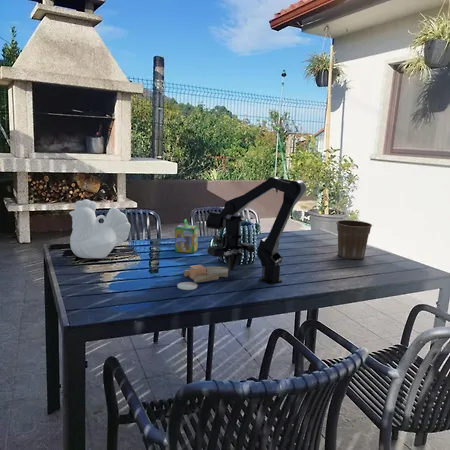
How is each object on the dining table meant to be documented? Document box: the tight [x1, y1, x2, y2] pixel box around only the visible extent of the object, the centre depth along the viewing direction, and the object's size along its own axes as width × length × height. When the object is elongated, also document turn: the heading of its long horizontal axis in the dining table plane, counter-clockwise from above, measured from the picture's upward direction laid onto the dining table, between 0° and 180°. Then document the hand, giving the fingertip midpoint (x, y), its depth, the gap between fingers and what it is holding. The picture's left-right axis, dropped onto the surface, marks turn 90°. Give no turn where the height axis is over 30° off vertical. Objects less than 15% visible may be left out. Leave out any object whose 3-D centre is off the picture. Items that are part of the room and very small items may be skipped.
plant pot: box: [336, 219, 373, 260], centre depth 201 cm, size 16×16×16 cm
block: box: [189, 264, 207, 281], centre depth 159 cm, size 4×4×4 cm
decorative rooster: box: [69, 198, 132, 259], centre depth 179 cm, size 25×16×25 cm, turn 109°
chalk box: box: [174, 218, 199, 254], centre depth 198 cm, size 9×9×15 cm
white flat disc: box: [176, 281, 198, 291], centre depth 149 cm, size 7×7×1 cm
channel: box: [183, 266, 220, 284], centre depth 160 cm, size 9×10×2 cm
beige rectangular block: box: [206, 266, 229, 278], centre depth 164 cm, size 3×8×3 cm, turn 95°
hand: (230, 270), depth 167 cm, fingers closed
